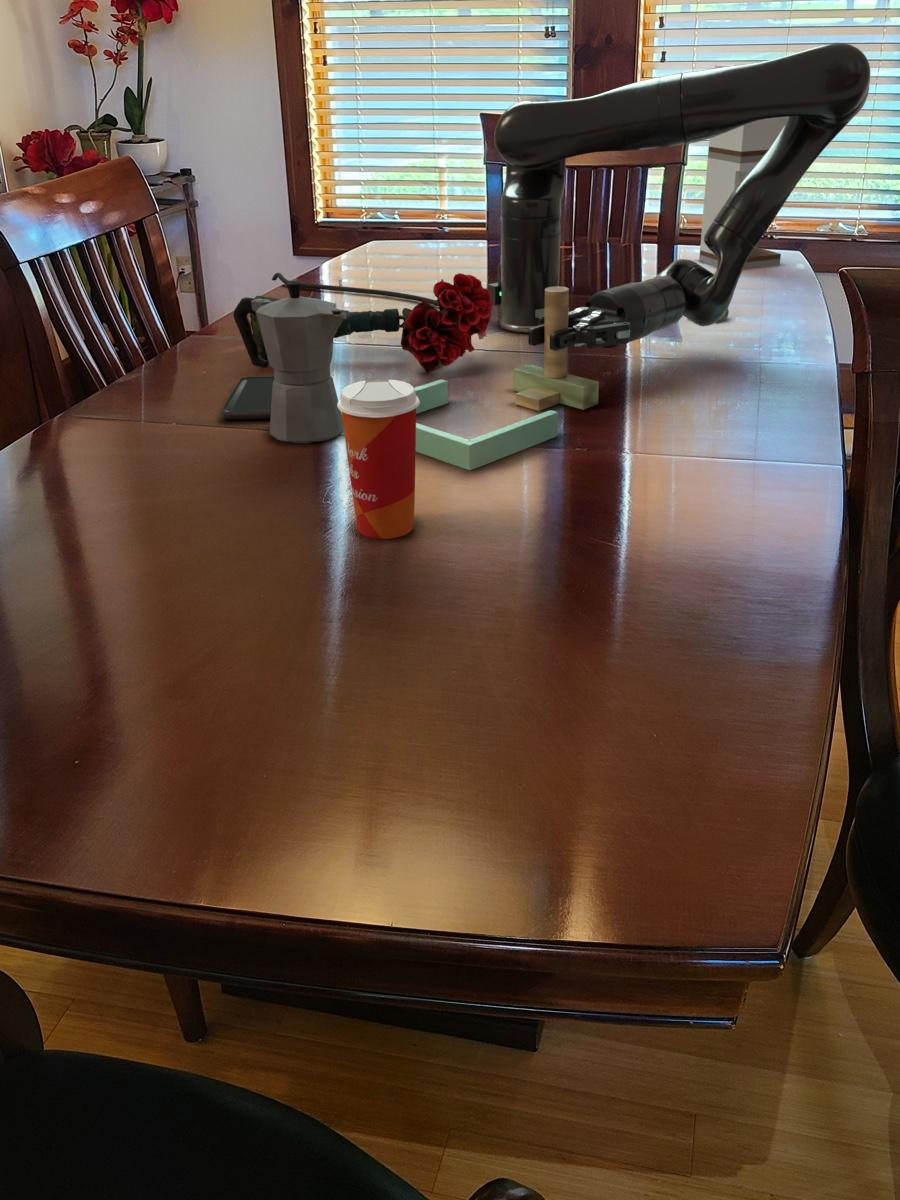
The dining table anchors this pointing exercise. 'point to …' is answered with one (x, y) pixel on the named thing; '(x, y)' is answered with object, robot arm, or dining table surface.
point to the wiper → (557, 360)
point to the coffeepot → (296, 362)
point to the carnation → (423, 322)
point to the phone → (250, 399)
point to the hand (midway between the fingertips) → (541, 339)
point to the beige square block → (537, 398)
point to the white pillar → (736, 176)
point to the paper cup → (381, 454)
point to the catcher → (484, 446)
